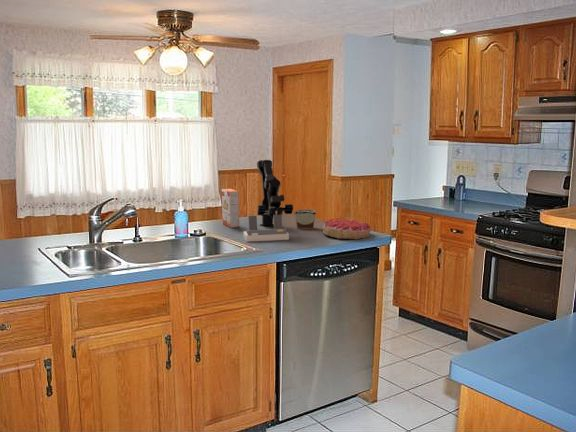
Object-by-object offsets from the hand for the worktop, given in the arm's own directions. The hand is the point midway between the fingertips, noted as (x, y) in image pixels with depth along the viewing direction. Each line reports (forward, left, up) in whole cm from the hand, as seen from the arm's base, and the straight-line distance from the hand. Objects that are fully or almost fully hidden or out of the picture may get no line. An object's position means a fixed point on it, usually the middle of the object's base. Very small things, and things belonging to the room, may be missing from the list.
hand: (277, 222), depth 284 cm
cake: (+18, +31, -8) cm, 37 cm away
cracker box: (-42, -4, -8) cm, 43 cm away
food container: (-11, +27, -8) cm, 30 cm away
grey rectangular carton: (+2, -1, -4) cm, 5 cm away
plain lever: (-3, -13, -4) cm, 14 cm away
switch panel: (0, -7, -7) cm, 10 cm away
